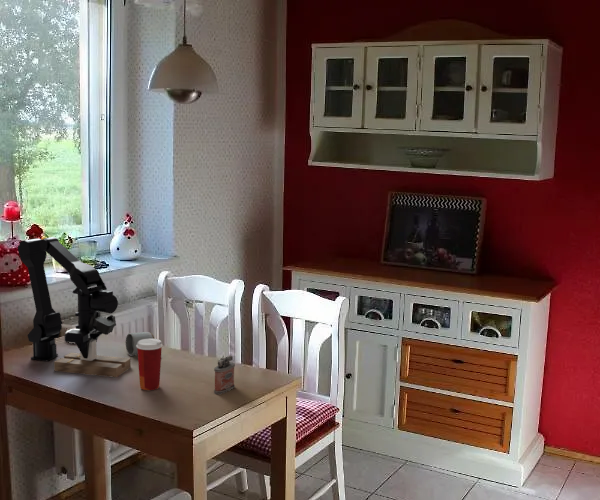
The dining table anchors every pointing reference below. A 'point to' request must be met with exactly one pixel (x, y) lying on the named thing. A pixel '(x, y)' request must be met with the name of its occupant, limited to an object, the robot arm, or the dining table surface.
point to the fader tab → (90, 351)
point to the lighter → (224, 375)
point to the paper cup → (149, 363)
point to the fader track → (93, 365)
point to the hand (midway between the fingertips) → (88, 356)
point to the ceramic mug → (136, 341)
